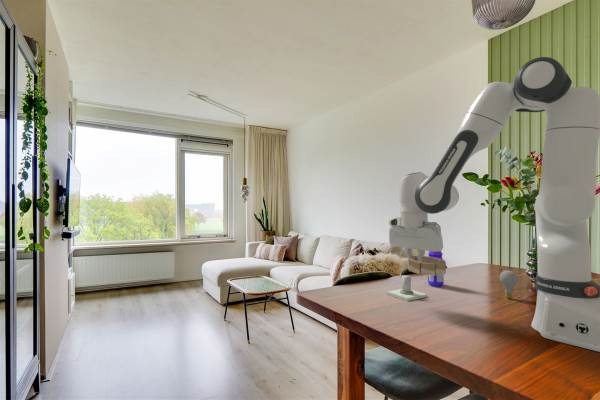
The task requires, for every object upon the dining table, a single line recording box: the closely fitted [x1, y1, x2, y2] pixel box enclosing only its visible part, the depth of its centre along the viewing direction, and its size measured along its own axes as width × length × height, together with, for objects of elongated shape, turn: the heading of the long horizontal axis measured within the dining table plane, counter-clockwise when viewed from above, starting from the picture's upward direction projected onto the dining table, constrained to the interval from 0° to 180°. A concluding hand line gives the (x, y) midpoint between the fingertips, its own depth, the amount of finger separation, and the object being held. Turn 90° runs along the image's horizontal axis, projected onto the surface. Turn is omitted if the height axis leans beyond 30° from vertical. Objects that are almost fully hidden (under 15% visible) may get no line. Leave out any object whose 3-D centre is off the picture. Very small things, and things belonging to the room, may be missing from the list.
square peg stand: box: [386, 275, 428, 302], centre depth 121 cm, size 10×10×7 cm
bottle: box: [427, 250, 445, 288], centre depth 136 cm, size 7×6×17 cm
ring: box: [407, 255, 447, 276], centre depth 106 cm, size 11×11×4 cm
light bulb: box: [499, 269, 519, 300], centre depth 116 cm, size 5×6×10 cm
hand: (415, 262), depth 110 cm, fingers closed on ring, 2 cm apart
